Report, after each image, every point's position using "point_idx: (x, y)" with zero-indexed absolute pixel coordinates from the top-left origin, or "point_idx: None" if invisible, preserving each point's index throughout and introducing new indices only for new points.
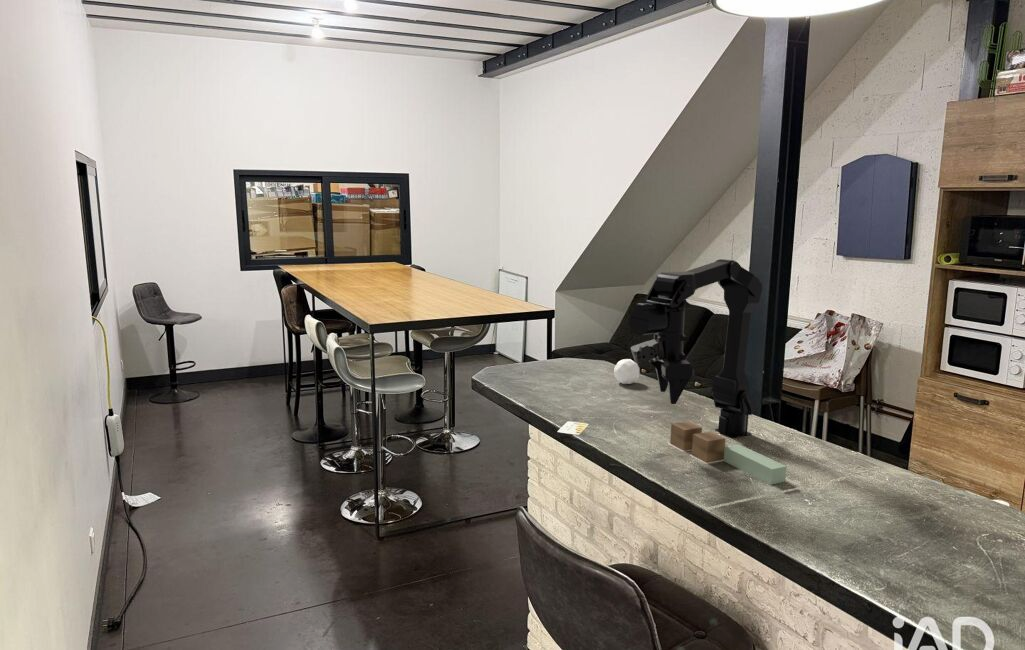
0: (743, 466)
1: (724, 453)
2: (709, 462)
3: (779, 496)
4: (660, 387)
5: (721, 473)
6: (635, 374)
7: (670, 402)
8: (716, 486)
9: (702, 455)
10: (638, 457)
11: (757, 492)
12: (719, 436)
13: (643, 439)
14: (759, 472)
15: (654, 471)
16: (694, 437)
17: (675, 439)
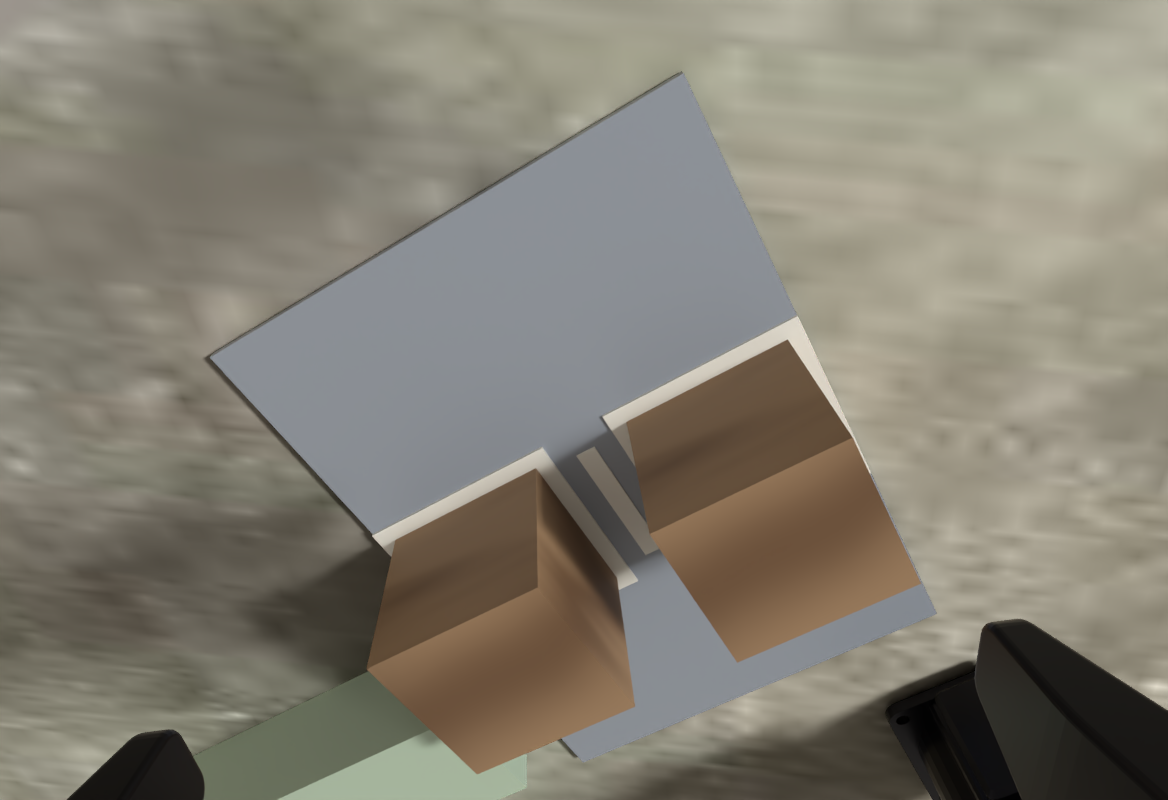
0: (310, 728)
1: None
2: None
3: (21, 792)
4: (1039, 687)
5: (261, 595)
6: None
7: (142, 743)
8: (9, 546)
9: (429, 547)
10: (445, 6)
11: (25, 720)
12: (513, 746)
13: (954, 104)
14: None
15: (118, 139)
16: (516, 580)
17: (738, 401)
